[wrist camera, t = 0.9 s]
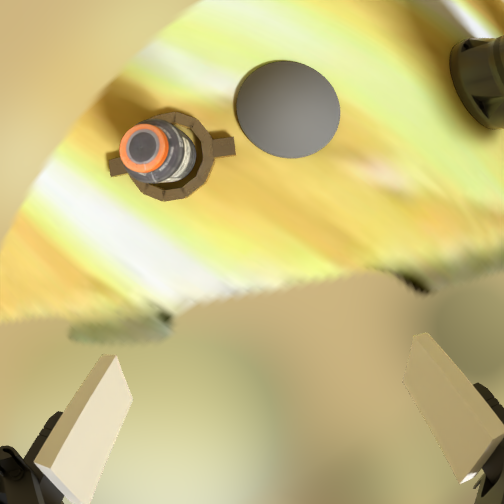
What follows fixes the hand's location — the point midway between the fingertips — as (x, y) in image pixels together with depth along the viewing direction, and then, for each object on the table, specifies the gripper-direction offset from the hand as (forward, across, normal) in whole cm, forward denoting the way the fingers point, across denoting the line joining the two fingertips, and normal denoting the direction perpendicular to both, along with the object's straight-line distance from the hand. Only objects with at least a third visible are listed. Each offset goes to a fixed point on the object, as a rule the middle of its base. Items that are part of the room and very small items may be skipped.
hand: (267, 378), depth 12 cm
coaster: (+25, -5, -15) cm, 30 cm away
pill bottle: (+25, +9, -10) cm, 28 cm away
